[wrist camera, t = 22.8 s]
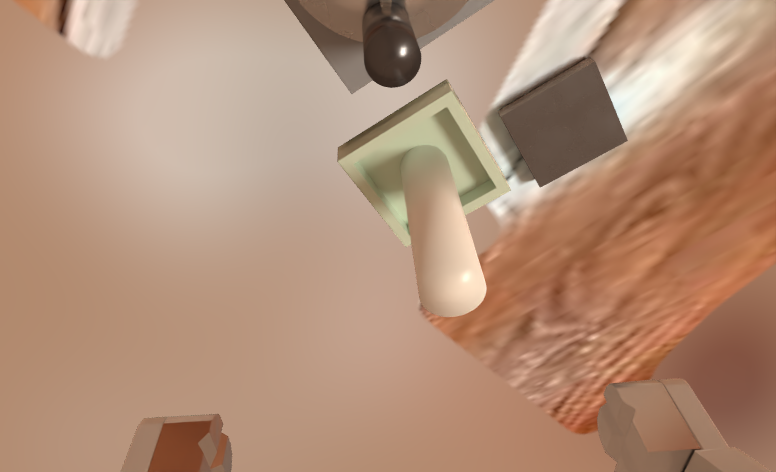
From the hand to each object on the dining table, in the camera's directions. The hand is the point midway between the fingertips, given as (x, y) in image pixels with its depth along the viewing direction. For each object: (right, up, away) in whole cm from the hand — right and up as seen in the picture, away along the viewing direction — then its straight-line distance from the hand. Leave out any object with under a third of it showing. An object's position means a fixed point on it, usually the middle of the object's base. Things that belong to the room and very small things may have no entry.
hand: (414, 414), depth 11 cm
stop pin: (+2, +9, +29) cm, 30 cm away
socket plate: (+12, +12, +28) cm, 33 cm away
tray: (+2, +9, +29) cm, 31 cm away
